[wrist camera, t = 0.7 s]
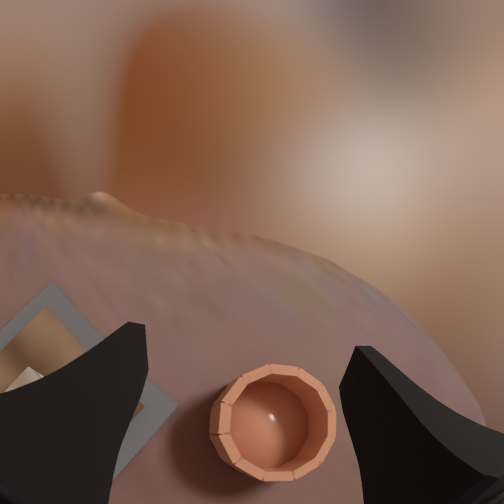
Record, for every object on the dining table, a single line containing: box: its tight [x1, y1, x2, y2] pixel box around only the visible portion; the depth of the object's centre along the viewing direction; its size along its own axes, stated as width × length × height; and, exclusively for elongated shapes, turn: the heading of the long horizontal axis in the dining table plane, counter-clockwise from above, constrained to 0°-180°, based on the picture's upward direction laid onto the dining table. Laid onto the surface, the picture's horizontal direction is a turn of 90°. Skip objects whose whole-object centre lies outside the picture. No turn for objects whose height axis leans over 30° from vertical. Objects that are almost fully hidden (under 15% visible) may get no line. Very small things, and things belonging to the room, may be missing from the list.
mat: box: [0, 282, 179, 479], centre depth 18 cm, size 16×16×1 cm
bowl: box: [209, 364, 336, 481], centre depth 22 cm, size 10×10×4 cm
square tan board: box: [0, 305, 144, 421], centre depth 16 cm, size 12×12×4 cm
